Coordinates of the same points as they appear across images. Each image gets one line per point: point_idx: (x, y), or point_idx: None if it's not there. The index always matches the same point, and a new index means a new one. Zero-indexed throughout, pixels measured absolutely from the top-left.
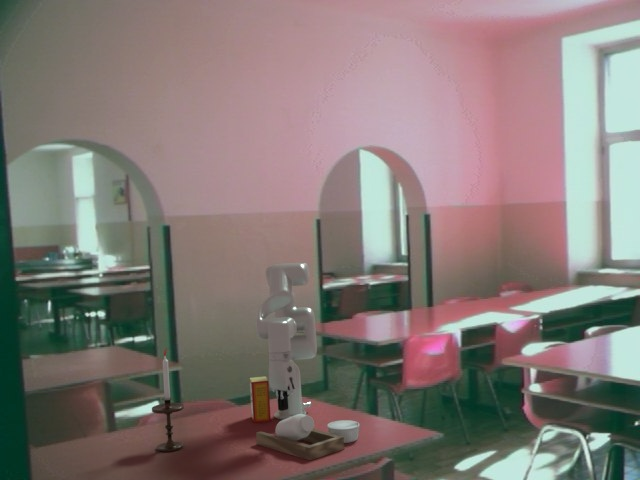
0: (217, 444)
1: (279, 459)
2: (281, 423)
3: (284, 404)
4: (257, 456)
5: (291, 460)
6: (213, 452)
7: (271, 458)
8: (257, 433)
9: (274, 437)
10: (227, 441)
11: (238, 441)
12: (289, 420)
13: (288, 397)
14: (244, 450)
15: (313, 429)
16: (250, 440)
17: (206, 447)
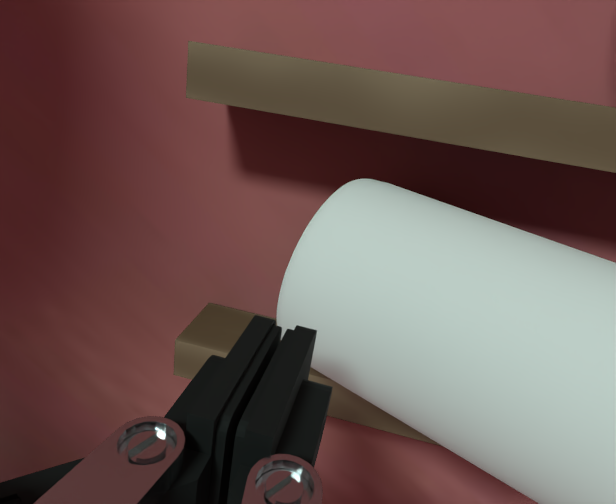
0: (43, 403)
1: (526, 496)
2: (363, 398)
3: (315, 460)
4: (371, 488)
5: None
6: None
7: (469, 494)
8: (190, 377)
9: (374, 422)
10: (36, 349)
11: (80, 328)
12: (513, 487)
13: (318, 479)
14: None
15: (561, 108)
16: (117, 288)
17: (46, 452)
